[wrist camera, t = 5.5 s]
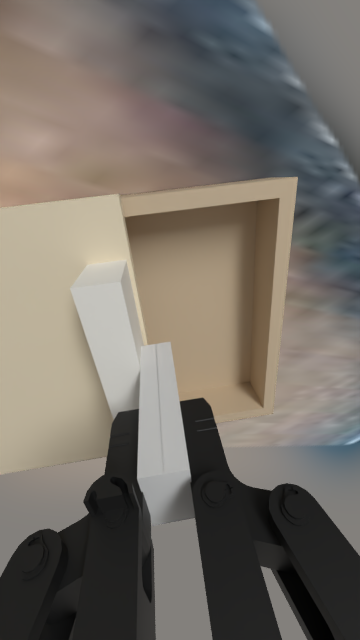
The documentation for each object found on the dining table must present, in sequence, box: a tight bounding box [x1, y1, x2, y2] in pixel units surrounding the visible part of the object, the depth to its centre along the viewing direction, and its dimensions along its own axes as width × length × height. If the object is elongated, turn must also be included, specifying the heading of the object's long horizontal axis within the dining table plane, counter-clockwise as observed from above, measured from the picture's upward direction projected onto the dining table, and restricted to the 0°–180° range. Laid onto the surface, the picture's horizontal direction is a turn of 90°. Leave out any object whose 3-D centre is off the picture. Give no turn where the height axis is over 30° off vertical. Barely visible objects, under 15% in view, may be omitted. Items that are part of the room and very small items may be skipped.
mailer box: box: [120, 177, 298, 423], centre depth 17 cm, size 16×16×4 cm
